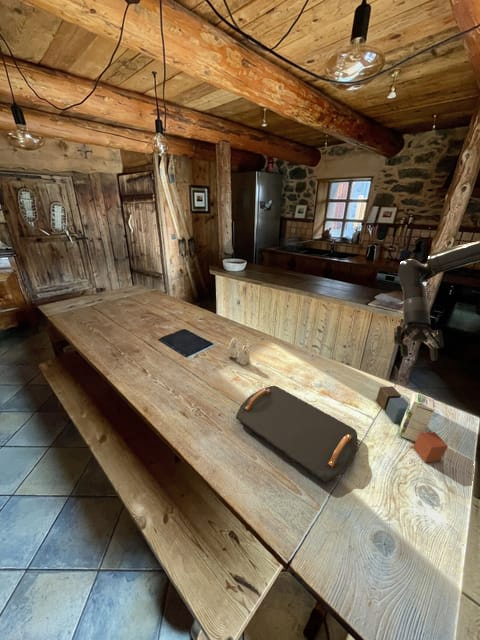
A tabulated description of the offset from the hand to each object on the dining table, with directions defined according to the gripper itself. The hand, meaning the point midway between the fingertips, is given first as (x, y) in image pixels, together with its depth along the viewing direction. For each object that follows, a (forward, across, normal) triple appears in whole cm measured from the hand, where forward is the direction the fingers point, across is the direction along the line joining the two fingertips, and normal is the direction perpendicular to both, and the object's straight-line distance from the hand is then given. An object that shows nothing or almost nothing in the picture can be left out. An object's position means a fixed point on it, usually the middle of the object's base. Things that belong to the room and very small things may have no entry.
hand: (419, 358), depth 87 cm
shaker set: (+2, -64, +30) cm, 71 cm away
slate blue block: (+19, -3, +14) cm, 23 cm away
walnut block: (+14, -4, +18) cm, 23 cm away
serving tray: (+28, -38, +5) cm, 48 cm away
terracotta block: (+29, +2, +4) cm, 29 cm away
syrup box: (+24, 0, +9) cm, 25 cm away
